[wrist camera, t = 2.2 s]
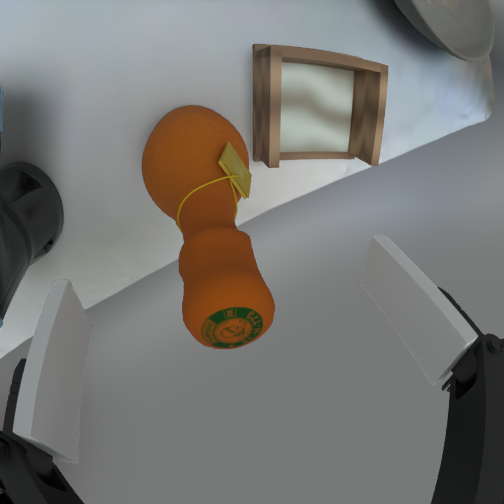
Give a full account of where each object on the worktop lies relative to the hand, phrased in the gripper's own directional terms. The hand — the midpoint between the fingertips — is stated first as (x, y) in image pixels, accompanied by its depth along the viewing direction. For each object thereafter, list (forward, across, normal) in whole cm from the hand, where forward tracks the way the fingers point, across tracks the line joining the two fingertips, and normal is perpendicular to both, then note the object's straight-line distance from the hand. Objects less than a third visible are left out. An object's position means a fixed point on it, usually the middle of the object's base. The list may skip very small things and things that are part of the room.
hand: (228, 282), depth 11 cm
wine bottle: (+28, 0, 0) cm, 28 cm away
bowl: (+28, +35, +30) cm, 54 cm away
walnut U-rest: (+27, +16, +5) cm, 32 cm away
